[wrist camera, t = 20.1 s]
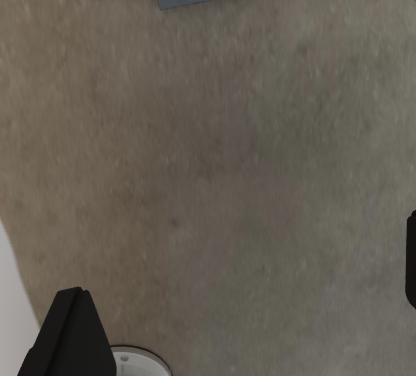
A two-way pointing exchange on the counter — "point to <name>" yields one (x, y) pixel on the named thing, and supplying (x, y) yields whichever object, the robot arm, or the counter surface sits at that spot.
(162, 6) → the slate blue square block
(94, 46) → the counter surface
